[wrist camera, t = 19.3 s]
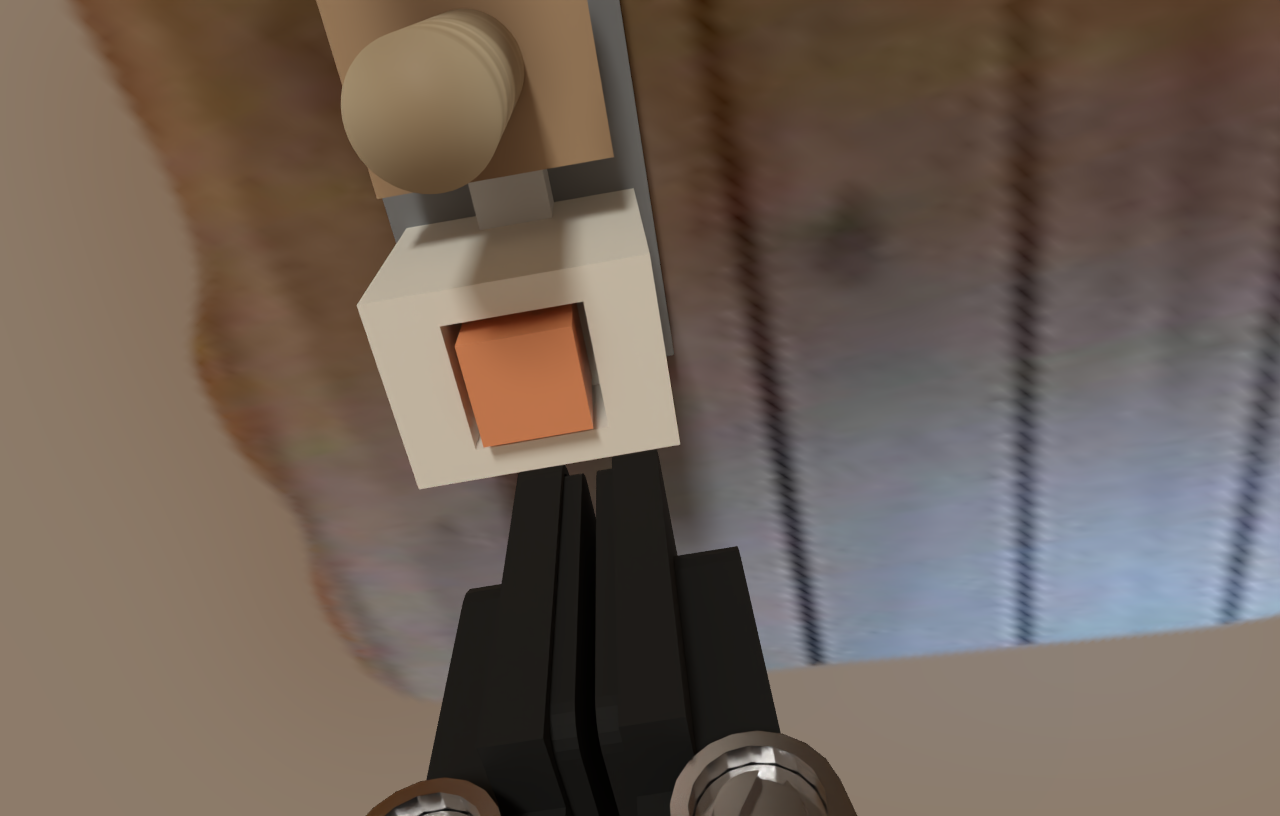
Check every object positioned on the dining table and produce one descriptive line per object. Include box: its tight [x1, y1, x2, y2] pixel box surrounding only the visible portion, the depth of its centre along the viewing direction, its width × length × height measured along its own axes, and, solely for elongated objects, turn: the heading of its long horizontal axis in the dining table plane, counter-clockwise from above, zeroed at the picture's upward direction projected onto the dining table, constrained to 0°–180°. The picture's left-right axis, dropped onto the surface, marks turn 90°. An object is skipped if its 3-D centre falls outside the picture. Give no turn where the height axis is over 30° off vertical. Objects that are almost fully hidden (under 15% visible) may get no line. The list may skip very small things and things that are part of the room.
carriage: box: [316, 0, 614, 199], centre depth 21 cm, size 7×6×10 cm
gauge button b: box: [455, 303, 593, 447], centre depth 25 cm, size 3×3×4 cm
